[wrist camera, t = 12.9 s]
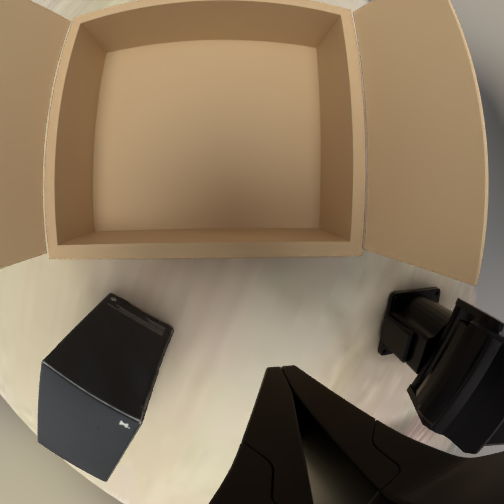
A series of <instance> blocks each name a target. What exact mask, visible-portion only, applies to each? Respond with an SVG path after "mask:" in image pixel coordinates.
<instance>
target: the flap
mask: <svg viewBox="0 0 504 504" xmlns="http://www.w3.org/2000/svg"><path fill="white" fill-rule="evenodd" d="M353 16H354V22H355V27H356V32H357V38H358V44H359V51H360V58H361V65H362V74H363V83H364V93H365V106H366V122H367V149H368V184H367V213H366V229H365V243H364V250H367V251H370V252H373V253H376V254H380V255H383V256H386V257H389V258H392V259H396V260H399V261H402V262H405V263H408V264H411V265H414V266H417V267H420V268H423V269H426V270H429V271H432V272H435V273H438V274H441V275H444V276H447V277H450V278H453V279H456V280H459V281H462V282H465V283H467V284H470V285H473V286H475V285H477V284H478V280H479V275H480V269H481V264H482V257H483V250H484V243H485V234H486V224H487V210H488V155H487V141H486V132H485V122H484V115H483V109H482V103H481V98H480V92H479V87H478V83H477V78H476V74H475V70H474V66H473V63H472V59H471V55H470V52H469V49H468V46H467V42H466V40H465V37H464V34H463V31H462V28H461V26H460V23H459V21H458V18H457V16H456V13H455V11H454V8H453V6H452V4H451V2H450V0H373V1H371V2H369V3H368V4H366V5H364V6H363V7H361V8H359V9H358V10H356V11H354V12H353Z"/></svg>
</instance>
